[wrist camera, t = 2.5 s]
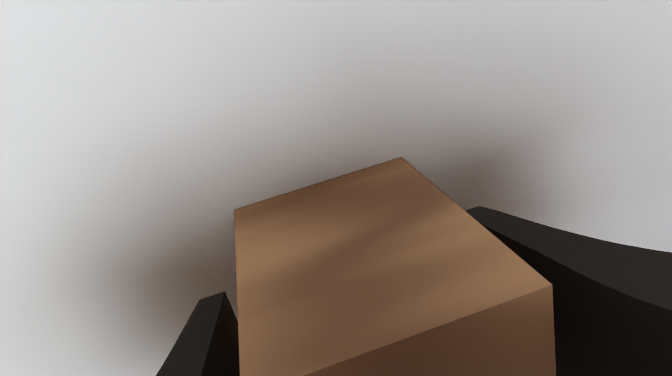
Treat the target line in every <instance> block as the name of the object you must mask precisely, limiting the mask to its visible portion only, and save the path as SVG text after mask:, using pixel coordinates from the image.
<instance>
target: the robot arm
mask: <svg viewBox="0 0 672 376" xmlns="http://www.w3.org/2000/svg"><path fill="white" fill-rule="evenodd" d="M466 212H467V213H468V214H469V215H470V216H472V217H473V218H474V219H475V220H476V221H478V222H479V223H480V224H481V225H482V226H484V227H485V228H486V229H487V230H488V231H489V232H491V233H492V234H493V235H494V236H495V237H497V238H498V239H499V240H500V241H501V242H502V243H504V244H505V245H506V246H507V247H508V248H510V249H511V250H512V251H513V252H514V253H515V254H517V255H518V256H519V257H520V258H521V259H523V260H524V261H525V262H526V263H527V264H528V265H530V266H531V267H532V268H533V269H534V270H536V271H537V272H538V273H539V274H540V275H541V276H543V277H544V278H545V279H546V280H547V281H549V282H550V283H551V284H552V288H553V312H554V336H555V361H556V376H672V253H671V252H663V251H657V250H651V249H645V248H639V247H634V246H628V245H622V244H617V243H613V242H608V241H603V240H599V239H595V238H591V237H587V236H582V235H578V234H574V233H571V232H567V231H563V230H559V229H556V228H552V227H549V226H545V225H542V224H539V223H535V222H532V221H529V220H525V219H522V218H519V217H516V216H512V215H509V214H506V213H502V212H499V211H496V210H492V209H488V208H484V207H479V206H478V207H475V208H472V209H469V210H466ZM156 376H240V364H239V336H238V321H237V319H236V316H235V314H234V312H233V309H232V307H231V305H230V302H229V300H228V298H227V295H226V293H225V292H222V293H219V294H216V295H213V296H210V297H207V298H204V299H201V300H199V302H198V304H197V306H196V307H195V309H194V311H193V312H192V314H191V316H190V318H189V320H188V321H187V323H186V325H185V327H184V329H183V331H182V332H181V334H180V336H179V338H178V340H177V341H176V343H175V345H174V347H173V348H172V350H171V352H170V353H169V355H168V357H167V358H166V360H165V362H164V364H163V365H162V367H161V369H160V370H159V372H158V373H157V375H156Z"/></svg>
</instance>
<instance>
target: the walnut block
mask: <svg viewBox="0 0 672 376" xmlns="http://www.w3.org/2000/svg"><path fill="white" fill-rule="evenodd" d="M234 226H235V254H236V281H237V309H238V336H239V364H240V376H556V361H555V336H554V312H553V288H552V284H551V283H550V282H549V281H547V280H546V279H545V278H544V277H543V276H541V275H540V274H539V273H538V272H537V271H536V270H534V269H533V268H532V267H531V266H530V265H528V264H527V263H526V262H525V261H524V260H523V259H521V258H520V257H519V256H518V255H517V254H515V253H514V252H513V251H512V250H511V249H510V248H508V247H507V246H506V245H505V244H504V243H502V242H501V241H500V240H499V239H498V238H497V237H495V236H494V235H493V234H492V233H491V232H489V231H488V230H487V229H486V228H485V227H484V226H482V225H481V224H480V223H479V222H478V221H476V220H475V219H474V218H473V217H472V216H470V215H469V214H468V213H467V212H466V211H465V210H463V209H462V208H461V207H460V206H459V205H457V204H456V203H455V202H454V201H453V200H452V199H450V198H449V197H448V196H447V195H446V194H444V193H443V192H442V191H441V190H440V189H439V188H437V187H436V186H435V185H434V184H433V183H431V182H430V181H429V180H428V179H427V178H426V177H424V176H423V175H422V174H421V173H420V172H418V171H417V170H416V169H415V168H414V167H413V166H411V165H410V164H409V163H408V162H407V161H405V160H404V159H403V158H402V157H400V158H397V159H394V160H390V161H387V162H384V163H381V164H378V165H374V166H371V167H368V168H365V169H362V170H359V171H355V172H352V173H349V174H346V175H343V176H340V177H336V178H333V179H330V180H327V181H324V182H321V183H317V184H314V185H311V186H308V187H305V188H301V189H298V190H295V191H292V192H289V193H286V194H282V195H279V196H276V197H273V198H270V199H267V200H263V201H260V202H257V203H254V204H251V205H248V206H244V207H241V208H238V209H235V210H234Z"/></svg>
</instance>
